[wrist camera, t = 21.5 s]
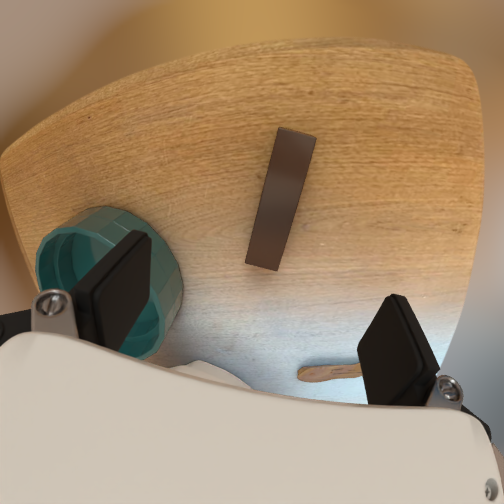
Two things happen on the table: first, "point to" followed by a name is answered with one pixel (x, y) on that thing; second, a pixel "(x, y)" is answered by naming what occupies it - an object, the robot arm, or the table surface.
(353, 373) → the stone tool
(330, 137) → the table surface
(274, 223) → the brown wooden block
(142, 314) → the mixing bowl
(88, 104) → the table surface
